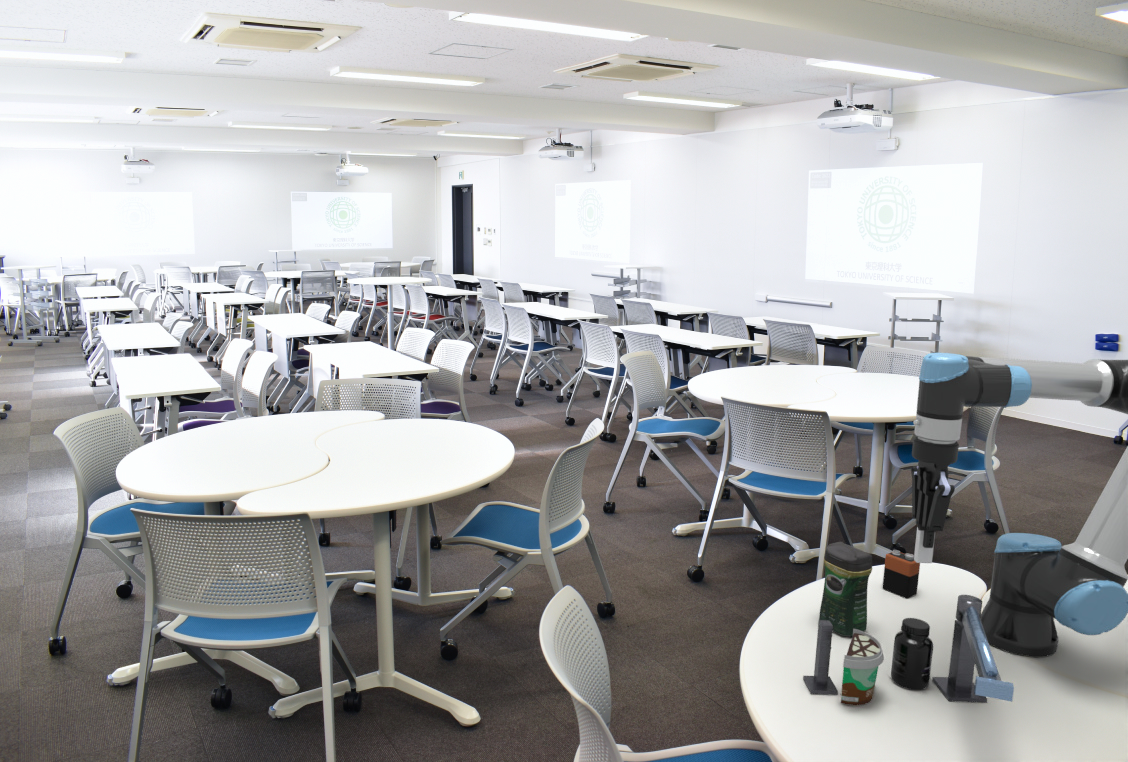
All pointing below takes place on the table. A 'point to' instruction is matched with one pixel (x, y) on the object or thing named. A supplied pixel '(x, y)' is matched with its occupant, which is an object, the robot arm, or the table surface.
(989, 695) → the cable arm
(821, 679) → the rest post
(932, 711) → the table surface
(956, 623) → the pivot post
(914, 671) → the supplement bottle
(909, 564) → the battery
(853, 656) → the food container
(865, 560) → the coffee jar
